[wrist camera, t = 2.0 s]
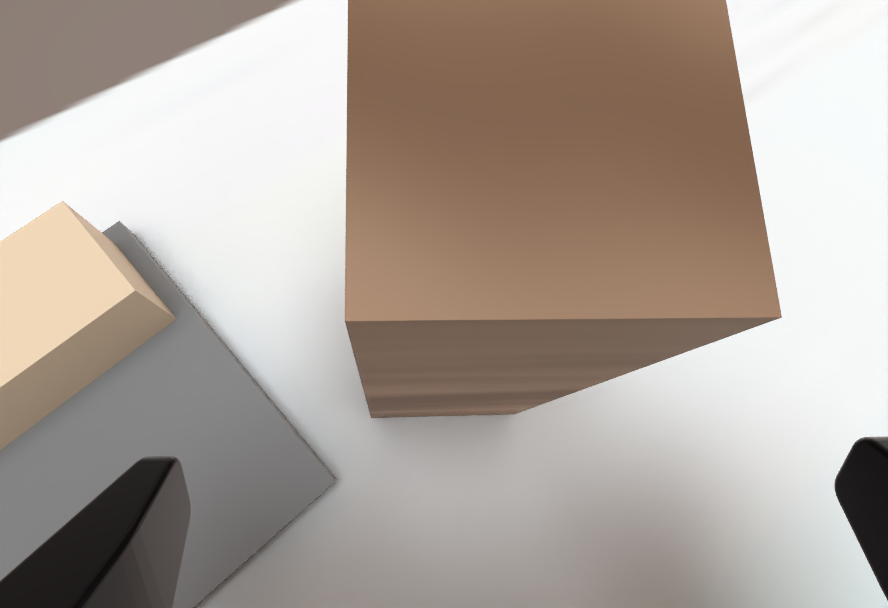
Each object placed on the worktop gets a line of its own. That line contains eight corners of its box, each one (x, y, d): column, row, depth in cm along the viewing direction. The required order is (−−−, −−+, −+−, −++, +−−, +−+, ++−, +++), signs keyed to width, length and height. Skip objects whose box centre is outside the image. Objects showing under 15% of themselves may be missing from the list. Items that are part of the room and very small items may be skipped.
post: (514, 414, 19) (782, 317, 6) (370, 417, 18) (344, 320, 6) (505, 278, 20) (718, -39, 7) (370, 278, 19) (349, -60, 7)
